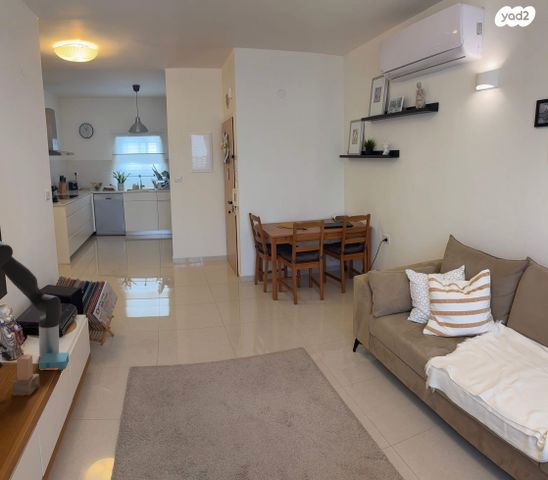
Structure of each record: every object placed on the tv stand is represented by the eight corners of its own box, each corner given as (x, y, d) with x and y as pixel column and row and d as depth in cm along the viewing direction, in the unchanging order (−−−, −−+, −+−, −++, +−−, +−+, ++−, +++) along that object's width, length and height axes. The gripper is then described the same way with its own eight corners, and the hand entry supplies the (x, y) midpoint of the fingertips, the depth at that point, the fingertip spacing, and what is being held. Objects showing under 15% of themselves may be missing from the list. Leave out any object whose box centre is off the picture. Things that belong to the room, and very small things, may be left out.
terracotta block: (17, 380, 193) (16, 358, 192) (21, 375, 198) (21, 354, 196) (28, 380, 194) (28, 358, 192) (32, 375, 198) (32, 354, 197)
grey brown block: (24, 385, 201) (23, 373, 200) (39, 386, 201) (39, 374, 200) (12, 395, 192) (12, 382, 191) (28, 396, 192) (28, 383, 191)
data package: (38, 371, 215) (65, 370, 218) (38, 362, 215) (65, 361, 218) (43, 361, 227) (69, 360, 230) (43, 353, 226) (69, 352, 229)
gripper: (-25, 338, 183) (5, 364, 187) (-9, 326, 197) (19, 351, 201) (-39, 350, 183) (-9, 376, 186) (-21, 338, 197) (7, 362, 200)
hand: (6, 363), depth 193 cm, fingers open, 8 cm apart
